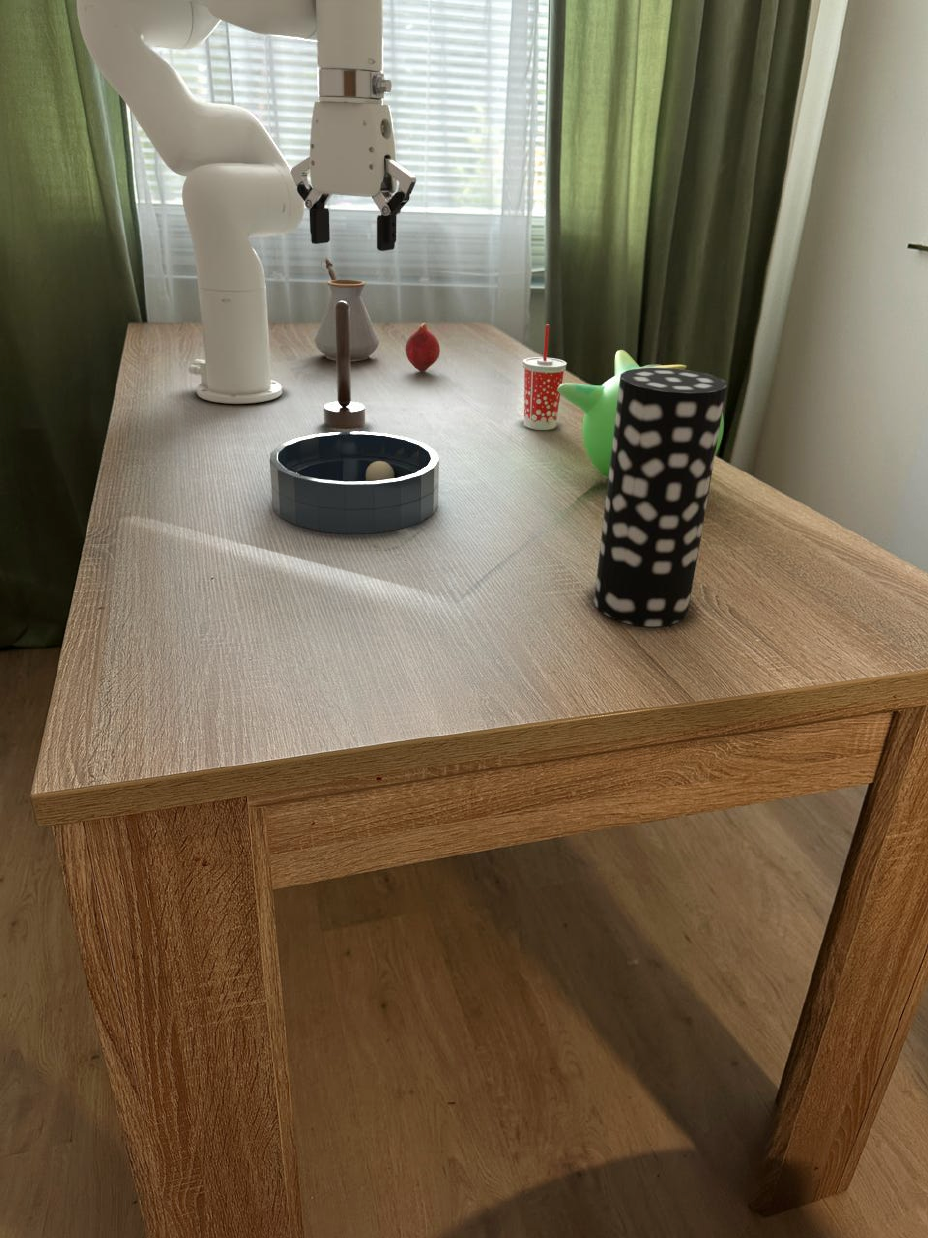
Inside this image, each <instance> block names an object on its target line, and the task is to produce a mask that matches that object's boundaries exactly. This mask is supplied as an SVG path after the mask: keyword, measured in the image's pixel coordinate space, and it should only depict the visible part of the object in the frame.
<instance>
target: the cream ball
mask: <svg viewBox="0 0 928 1238" xmlns="http://www.w3.org/2000/svg"><path fill="white" fill-rule="evenodd" d="M389 479H394V471H393V469H392V467H391V466H390V465H389V464H388V463H386V462H383V461H376V462H374V463H372V464H371V465H370V466H369V467H368V468H367V471H366V480H367V482H373V481H381V480H389Z"/></svg>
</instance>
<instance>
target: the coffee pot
mask: <svg viewBox="0 0 928 1238" xmlns="http://www.w3.org/2000/svg"><path fill="white" fill-rule="evenodd" d="M324 262H325V267H324V266H323V263H324ZM320 266H321V268H322V269H325V270H327V271H328V276H329V277H330V280H328V281H327V283H326V284H327V286H329V290H330V297H329V300H328V302H327V306H326V307H325V311H324V313H323V316H322V318H321V321H320V324H319V327H318V329H317V331H316V335H315V337H314V343H315V345H316V348H317V349H318V350H319V352H320V353H322V354H323V355H325V358H326V359H328V360H330V361H335V362H337V357H336V317H335V306H336V304H337V303H338V302H339V301H345V302H346V303H347V304H348V305H349V323H350V362H360V361H361V362H362V361H365V360H368V359H369V358H370V357H369V356H370V355H372V354H374V353H375V352H376V350H377V349H378V347H379V345H380V340H379V337H378V335H377V332H376V329H375V327H374V324H373V322H372V320H371V316H370V315H369V312H368V310H367V308H366V305H365V302H364V300H363V298H362V297H363V296H362V295H361V294H362V292H363V290H364V287H365V285H366V284H367V283H366V281H362V280H355V279H338V276H337V273H336V271H335V269H334V268H333V267H334V262H333V261H332V260H330V259H329V258H325V259H324V260H322V261H321V263H320Z"/></svg>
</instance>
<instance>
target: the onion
mask: <svg viewBox="0 0 928 1238" xmlns="http://www.w3.org/2000/svg"><path fill="white" fill-rule="evenodd" d="M439 344H440V343H439V341H438V339H437V337H436V336H435V334H433V332H431V331H430V330H429V329H428V324H426V323H425V322H422V323H421V324H420V325H419V327H418V329H416V330H415V331H413V332H412V333H411V335H409V337H408V339H407V341H406V344H405V355H406V358H407V360H408V362H409V363H410V364H411V365H412V366H413V367H414V368H415V369H417V370H418V372H422V373H423V372H426V371H427V370H428V369H430V367H432V366H433V365H434V364H435V363H436V362H437V360H438V359H439V357H440V352H441V351H440V345H439Z"/></svg>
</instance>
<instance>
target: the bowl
mask: <svg viewBox="0 0 928 1238" xmlns="http://www.w3.org/2000/svg"><path fill="white" fill-rule="evenodd" d="M376 461H383V462H386V463H388V464H389V465H390V466H391V467H392V469H393V471H394V479H389V480H381V481H373V482H367V480H366V471H367V468H368V467H369V466H370V465H371V464H372V463H374V462H376ZM269 472H270V485H271V486H270V487H271V488H270V489H271V503H272V510H273V511H274V512H275V513H276V514H277V515H278V517H279V518H281V519H282V520H285V521H286V522H289V523H291V524H293V525H295V526H298V527H301V528H305V529H309V530H314V531H318V532H324V533H325V532H326V533H333V534H335V533H336V534H342V535H343V534H344V535H345V534H347V535H351V534H352V535H355V534H356V535H357V534H378V533H384V532H385V533H386V532H391V531H398V530H402V529H405V528H408V527H411V526H415V525H417V524H420V523H422V522H423V521H425V520H426V519H428V518H430V517H431V516H433V515H434V513H435V511H436V509H437V507H438V505H439V481H440V459H439V456H438V454H437V452H436V450H435V449H433V448H431V446H428V445H427V444H426V443H423V442H420V441H417V440H414V439H411V438H409V437H404V436H398V435H393V434H388V433H381V432H380V433H379V432H369V431H339V432H338V431H337V432H327V433H326V432H325V433H318V434H317V433H315V434H311V435H307V436H303V437H297V438H294V439H292V440H288V441H287V442H284V443H282V444H279V445H278V446H277V447H276V448H275V449H274V450H272V451H271V452H270V455H269Z"/></svg>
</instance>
